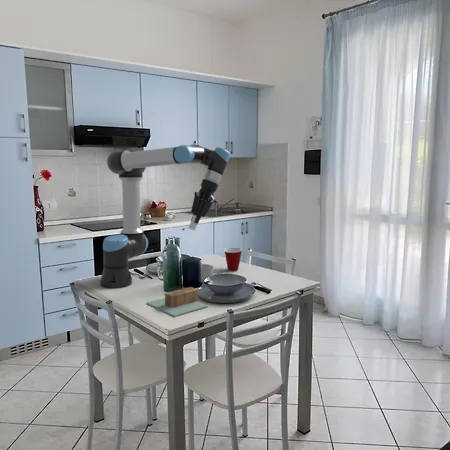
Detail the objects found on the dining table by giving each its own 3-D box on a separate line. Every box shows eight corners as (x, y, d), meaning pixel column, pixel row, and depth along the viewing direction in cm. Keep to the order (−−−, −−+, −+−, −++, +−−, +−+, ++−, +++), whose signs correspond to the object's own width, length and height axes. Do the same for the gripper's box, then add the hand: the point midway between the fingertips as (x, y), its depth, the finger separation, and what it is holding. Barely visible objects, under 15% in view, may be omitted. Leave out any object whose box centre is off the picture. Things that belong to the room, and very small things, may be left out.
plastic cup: (220, 267, 240) (220, 247, 239) (238, 266, 244) (238, 246, 242) (226, 272, 230) (226, 251, 228) (244, 271, 233) (245, 250, 232)
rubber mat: (146, 303, 179) (146, 302, 179) (178, 295, 190) (178, 294, 190) (174, 317, 165) (174, 315, 164) (207, 307, 176) (207, 305, 176)
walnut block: (191, 297, 186) (164, 304, 176) (191, 286, 185) (164, 293, 175) (198, 300, 182) (171, 307, 173) (198, 289, 181) (171, 296, 172)
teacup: (202, 277, 221) (202, 262, 220) (218, 281, 214) (218, 265, 213) (183, 282, 210) (183, 267, 209) (199, 287, 203) (199, 271, 202)
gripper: (225, 186, 189) (206, 235, 189) (207, 181, 198) (188, 227, 198) (214, 181, 184) (194, 231, 184) (196, 175, 193) (177, 223, 193)
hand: (191, 229), depth 191 cm, fingers closed
